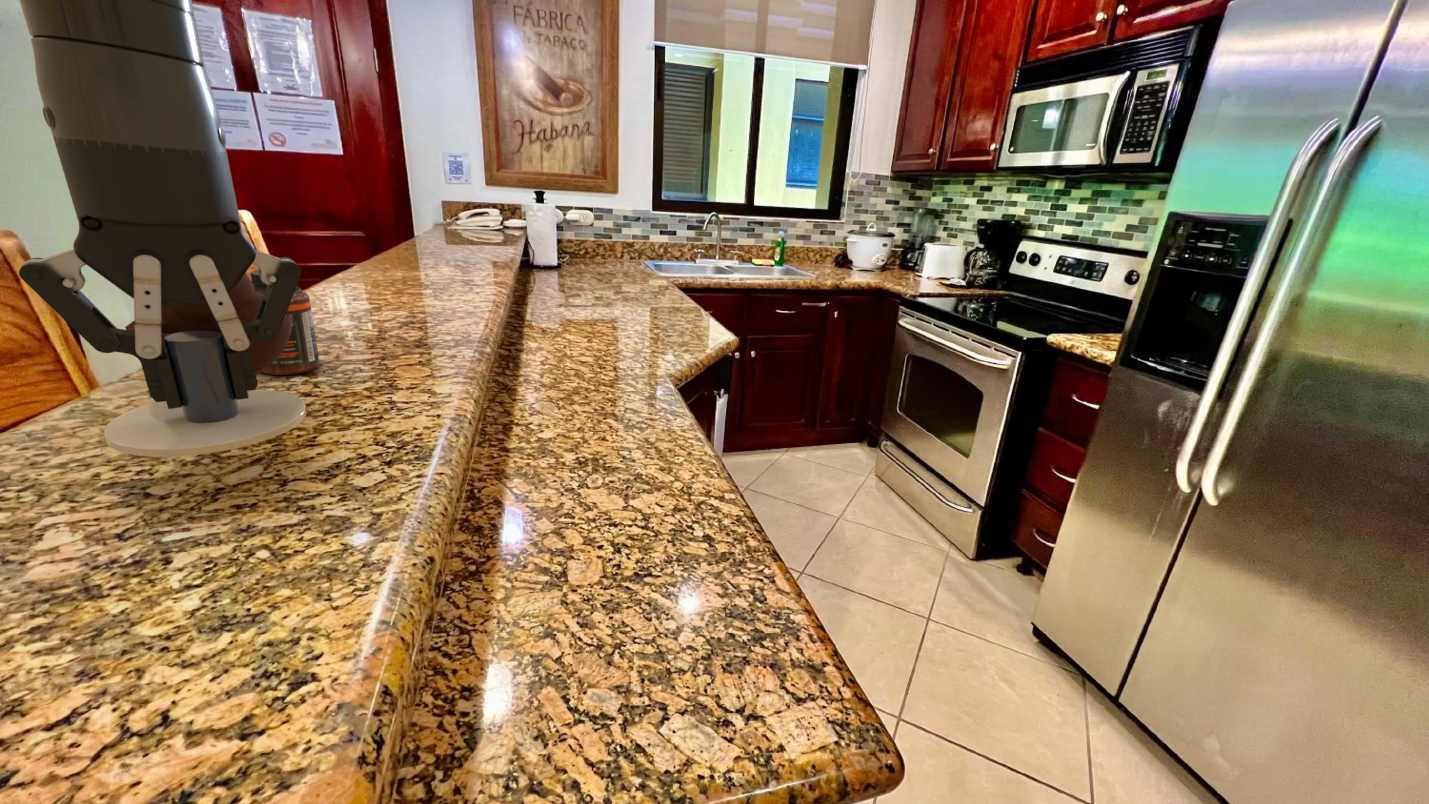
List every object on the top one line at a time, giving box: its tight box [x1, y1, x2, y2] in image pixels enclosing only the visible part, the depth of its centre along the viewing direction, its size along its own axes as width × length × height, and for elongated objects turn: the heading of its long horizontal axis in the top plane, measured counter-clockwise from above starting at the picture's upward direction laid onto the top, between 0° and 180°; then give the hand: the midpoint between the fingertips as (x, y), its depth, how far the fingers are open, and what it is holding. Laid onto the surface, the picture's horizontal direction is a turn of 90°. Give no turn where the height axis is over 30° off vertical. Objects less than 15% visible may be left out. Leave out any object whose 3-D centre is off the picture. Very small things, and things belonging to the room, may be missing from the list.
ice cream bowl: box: [124, 272, 293, 374], centre depth 49 cm, size 11×11×15 cm
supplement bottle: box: [250, 269, 320, 376], centre depth 63 cm, size 6×6×11 cm
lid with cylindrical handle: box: [103, 331, 308, 458], centre depth 39 cm, size 11×11×7 cm
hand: (208, 399), depth 40 cm, fingers closed on lid with cylindrical handle, 3 cm apart
